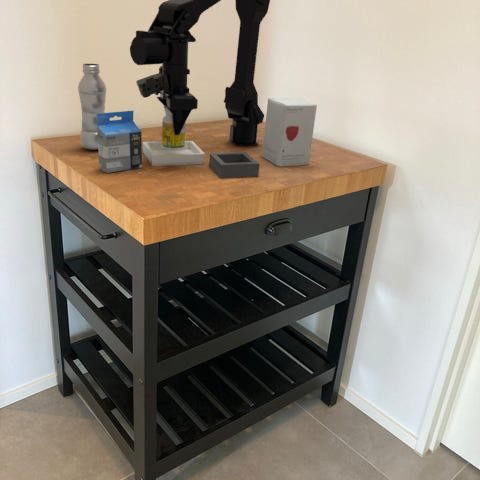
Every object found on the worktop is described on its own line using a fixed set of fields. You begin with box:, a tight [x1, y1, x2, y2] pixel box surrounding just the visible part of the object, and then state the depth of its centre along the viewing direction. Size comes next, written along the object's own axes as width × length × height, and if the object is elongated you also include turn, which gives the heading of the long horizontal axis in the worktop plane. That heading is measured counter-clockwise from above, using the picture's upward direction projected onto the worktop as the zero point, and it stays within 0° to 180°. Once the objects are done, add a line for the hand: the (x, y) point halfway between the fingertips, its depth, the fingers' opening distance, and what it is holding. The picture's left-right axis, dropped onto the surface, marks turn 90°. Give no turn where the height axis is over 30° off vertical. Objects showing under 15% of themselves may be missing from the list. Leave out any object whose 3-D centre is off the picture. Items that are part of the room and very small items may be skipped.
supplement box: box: [261, 97, 318, 168], centre depth 128 cm, size 9×9×15 cm
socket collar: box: [208, 151, 260, 179], centre depth 121 cm, size 9×9×3 cm
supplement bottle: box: [161, 108, 186, 151], centre depth 124 cm, size 5×5×10 cm
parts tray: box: [142, 140, 206, 167], centre depth 126 cm, size 13×12×2 cm
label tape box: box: [97, 110, 143, 174], centre depth 114 cm, size 9×4×12 cm, turn 129°
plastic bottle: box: [77, 62, 107, 151], centre depth 125 cm, size 6×7×20 cm
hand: (173, 131), depth 124 cm, fingers closed on supplement bottle, 5 cm apart
